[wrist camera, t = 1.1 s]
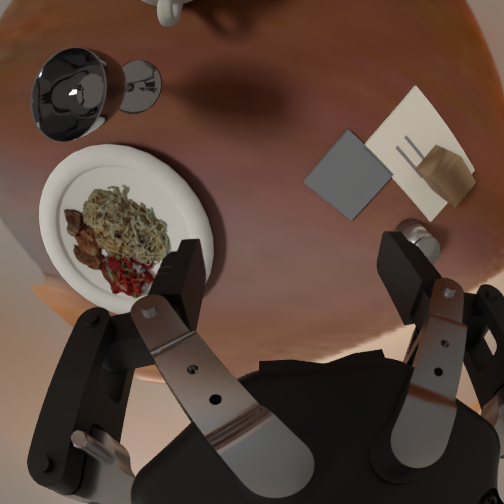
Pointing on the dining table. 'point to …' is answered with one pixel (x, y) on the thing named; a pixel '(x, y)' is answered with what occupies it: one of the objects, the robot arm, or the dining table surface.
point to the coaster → (348, 175)
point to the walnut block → (446, 175)
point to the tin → (420, 238)
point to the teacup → (168, 10)
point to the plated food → (118, 222)
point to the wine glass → (89, 92)
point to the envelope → (414, 148)
